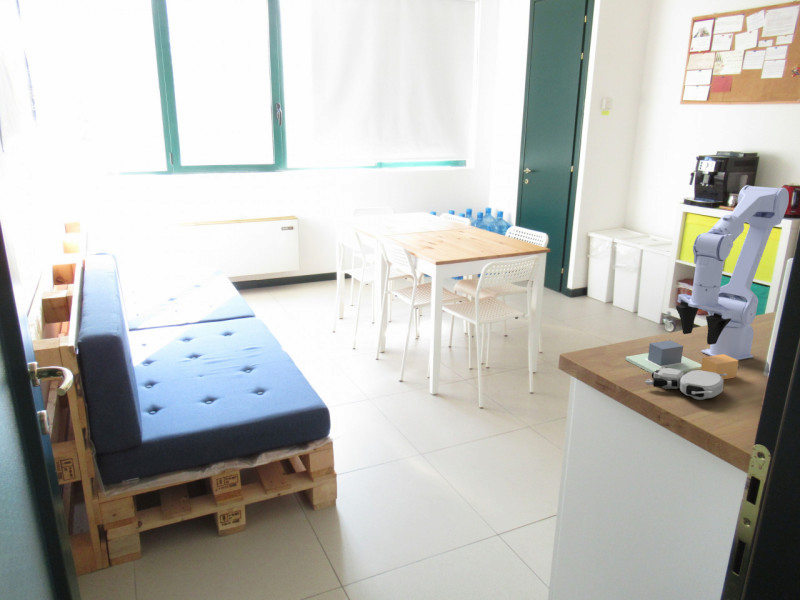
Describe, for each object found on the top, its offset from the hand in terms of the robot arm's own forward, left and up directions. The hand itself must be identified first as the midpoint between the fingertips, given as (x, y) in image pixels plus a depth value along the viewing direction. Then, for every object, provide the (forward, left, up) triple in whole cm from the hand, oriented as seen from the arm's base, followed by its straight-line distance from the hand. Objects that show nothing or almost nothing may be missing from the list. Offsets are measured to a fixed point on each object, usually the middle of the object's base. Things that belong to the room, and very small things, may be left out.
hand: (699, 338), depth 144 cm
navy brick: (+4, -6, -7) cm, 10 cm away
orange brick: (-3, +4, -9) cm, 10 cm away
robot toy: (+11, +8, -9) cm, 16 cm away
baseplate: (+4, -6, -8) cm, 11 cm away
